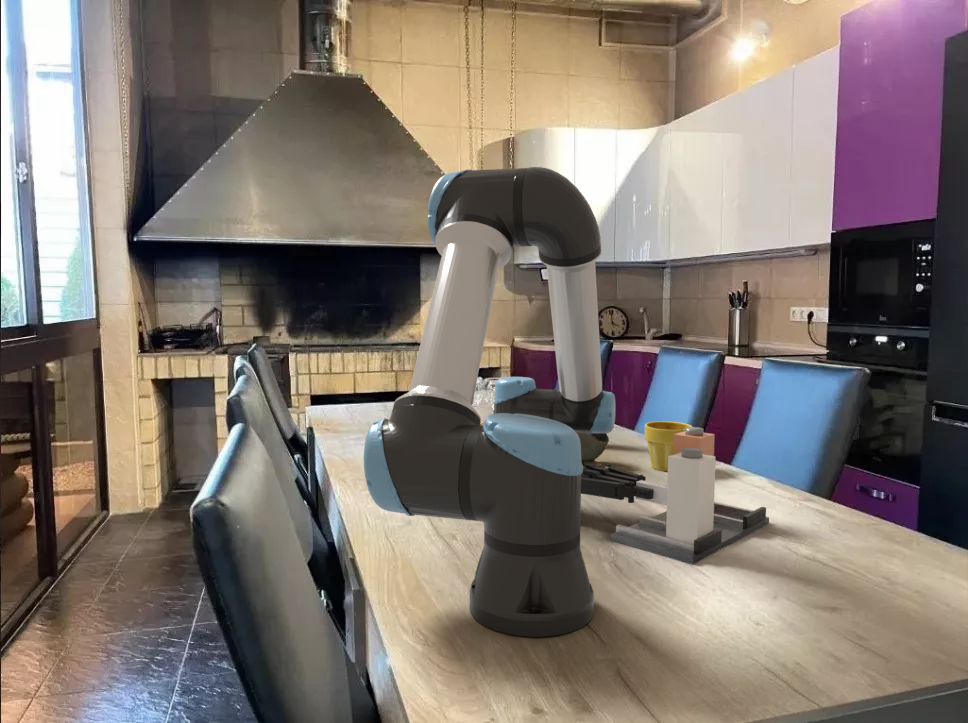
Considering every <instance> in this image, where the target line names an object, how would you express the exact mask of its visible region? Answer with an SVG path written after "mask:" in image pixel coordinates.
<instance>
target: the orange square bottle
mask: <svg viewBox="0 0 968 723" xmlns="http://www.w3.org/2000/svg"><path fill="white" fill-rule="evenodd" d="M715 435H716V434H715V433H709V432H704V428H703V427H697V426H692V427H686V428H685V431H684V432H680V433H677V434H674V449H673V455H675V454H678V453H681V452H682V449H683V448H698V449H701V450H703V454H704V455H709V456H715Z"/></svg>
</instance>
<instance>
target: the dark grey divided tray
mask: <svg viewBox="0 0 968 723" xmlns="http://www.w3.org/2000/svg"><path fill="white" fill-rule="evenodd" d="M637 521H638V522H637V523H634V524H632V525H629V526H626V525H622V524H617V525H615V532H612V533H610V541H611V542H616V543H619V544H622V545H624V546H625V545H626V546H629V547H632V548H636V549H639V550H643V551H646V552H649V553H653V554H656V555H659V556H663V557H665V558H670V559H674V560H677V561H680V562H684V563H686V564H690V565H695V564H697V563H699V562H700V561H702V560H704V559H705V558H708V557H709V556H711V555H713V554H715V553H717V552H718V551H720V550H723V549H724V548H726V547H727V546H728V547H729V545H732V544H734V543H735V542H737V541H739V540H742V538H744V537H746V536H748V535H750V534H752V533H754V532H756V531H757V530H758V529H761V528H763V527H765V526H767V525H768V524H770V517H769V516H767V507H765V506H761V507H759V508H757V509H755V510H752V509H747V508H742V507H739V506H735V505H728V504H724V503H721V502H716V501H714V520H713V531H712V532H710V533H708V534H706V535H704V536H702V537H700V538H698V539H696V540H694V545H692V544H688V543H685V542H681V541H677V540H674V539H670V538H666V521H667V510H666V511H663V512H662V513H658V514H656V515H654V516H651V517H647V516H643V515H640V516H638V520H637Z"/></svg>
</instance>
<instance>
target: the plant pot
mask: <svg viewBox="0 0 968 723" xmlns="http://www.w3.org/2000/svg"><path fill="white" fill-rule="evenodd" d="M686 427H693V426H692V425H691V424H687V423H685V422H684V423H683V422H678V421H669V420H668V421H666V420H661V421H659V420H655V421H648V422H646V423H645V424H644V440H646V442H647V446H648V452H649V457H650V463H651V468H652V469H654V470H656V471H661V472H668V456H671V455H673V449H674V434H677V433H680V432H684V431H685V428H686Z"/></svg>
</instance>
